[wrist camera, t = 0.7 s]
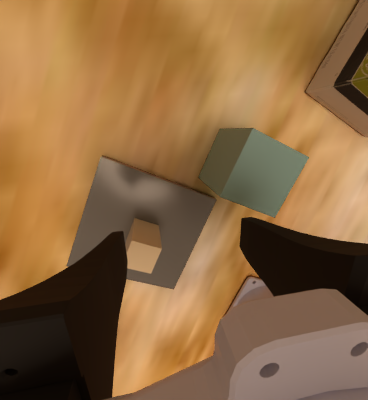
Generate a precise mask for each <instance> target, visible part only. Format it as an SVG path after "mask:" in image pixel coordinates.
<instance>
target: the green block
mask: <svg viewBox="0 0 368 400" xmlns="http://www.w3.org/2000/svg"><path fill="white" fill-rule="evenodd" d="M308 158H309V157H307V156H305V155H304V154H302V153H300V152H298V151H296V150H294V149H292V148H290V147H288V146H286V145H284V144H282V143H281V142H279V141H277V140H275V139H273V138H271V137H269V136H267V135H265V134H263V133H261V132H259V131H258V130H256V129H254V128H235V129H220V130H219V132H218V134H217V137H216V139H215V141H214V143H213V146H212V148H211V150H210V152H209V155H208V157H207V159H206V161H205V164H204V166H203V168H202V170H201V173H200V175H199V178H200V179H201V180H202V181H203V182H204V183H205V184H206V185H207V186H209V187H210V188H211V189H212V190H213V191H214V192H215V193H216V194H217V195H219V196H220V197H222V198H224V199H227V200H230V201H232V202H235V203H238V204H240V205H243V206H245V207H248V208H251V209H253V210H256V211H258V212H261V213H264V214H266V215H269V216H272V217H274V218H275V216H276V215H277V213H278V211H279V209H280V208H281V206H282V204H283V202H284V201H285V199H286V197H287V195H288V194H289V192H290V190H291V188H292V187H293V185H294V183H295V181H296V180H297V178H298V176H299V174H300V173H301V171H302V169H303V167H304V165H305V164H306V162H307V160H308Z"/></svg>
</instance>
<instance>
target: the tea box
mask: <svg viewBox="0 0 368 400" xmlns="http://www.w3.org/2000/svg"><path fill="white" fill-rule="evenodd" d="M306 93H307V94H309V95H310V96H311V97H312V98H314V99H315V100H316V101H318V102H319V103H320V104H322V105H323V106H324V107H326V108H327V109H328V110H330V111H331V112H332V113H334V114H335V115H336V116H337V117H339V118H340V119H342V120H343V121H344V122H345V123H347V124H348V125H349V126H351V127H352V128H353V129H355V130H356V131H358V132H359V133H361V134H362V135H363V136H364V137H368V0H359V2H358V4H357V6H356V7H355V9H354V11H353V12H352V14H351V16H350V17H349V19H348V20H347V22H346V23H345V25H344V27H343V28H342V30H341V32H340V34H339V35H338V37H337V39H336V41H335V43H334V44H333V46H332V48H331V49H330V51H329V53H328V54H327V56H326V57H325V59H324V60H323V62H322V64H321V65H320V67H319V69H318V70H317V72H316V74H315V76H314V78H313V80H312V81H311V83H310V84H309V86H308V88H307V89H306Z"/></svg>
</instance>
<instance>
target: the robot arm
mask: <svg viewBox="0 0 368 400" xmlns="http://www.w3.org/2000/svg"><path fill="white" fill-rule="evenodd" d="M240 248H241V250H242V252H243V254H244V256H245V258H246V259H247V261H248V262H249V264H250V265H251V266H252V268H253V269H254V270H255V272H256V273H257V274H258V275H259V277H260V278H261V279H259V278H255V277H251V276H250V277H248V278H247V279H246V281H245V283H244V284H243V286H242V288H241V289H240V291H239V293H238V295H237V296H236V298H235V300H234V302H233V303H232V305H231V307H230V308H229V310H228V312H227V314H226V315H225V316H223V317H222V318H221V320H220V322H219V325H218V328H217V330H216V333H215V350H214V355H213V356H211V357H209V358H207V359H205V360H202V361H200V362H198V363H196V364H194V365H192V366H190V367H188V368H186V369H183V370H181V371H179V372H177V373H175V374H173V375H171V376H169V377H166V378H164V379H162V380H160V381H158V382H156V383H154V384H152V385H149V386H147V387H145V388H143V389H141V390H139V391H137V392H135V393H130V394H126V395H122V396H117V397H113V398H112V389H113V375H114V361H115V349H116V338H117V328H118V319H119V313H120V308H121V303H122V298H123V293H124V288H125V283H126V278H127V266H128V259H127V253H126V246H125V239H124V232H123V231H117V232H112V233H110V234H109V235H108V236H107V237H106V238H105V239H104V240H103V241H102V242H100V243H99V244H98V245H97V246H96V247H95V248H94V249H92V250H91V251H90V252H89V253H87V254H86V255H85V256H84V257H82V258H81V259H80V260H78V261H77V262H75V263H74V264H72V265H71V266H69V267H68V268H66V269H65V270H63V271H61V272H59V273H58V274H56V275H54V276H52V277H50V278H49V279H47V280H45V281H43V282H41V283H39V284H37V285H35V286H33V287H30V288H28V289H26V290H24V291H22V292H19V293H17V294H14V295H12V296H9V297H7V298H4V299H2V300H0V400H368V244H365V243H355V242H346V241H339V240H333V239H327V238H322V237H317V236H312V235H308V234H304V233H300V232H297V231H293V230H290V229H287V228H284V227H281V226H278V225H275V224H272V223H269V222H266V221H263V220H260V219H257V218H253V217H248V218H242V220H241V235H240Z"/></svg>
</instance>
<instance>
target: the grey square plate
mask: <svg viewBox="0 0 368 400" xmlns="http://www.w3.org/2000/svg"><path fill="white" fill-rule="evenodd" d="M215 202H216V199H215V198H214V197H212V196H209V195H206V194H204V193H201V192H198V191H196V190H193V189H190V188H188V187H185V186H182V185H180V184H177V183H174V182H172V181H169V180H167V179H164V178H161V177H159V176H156V175H153V174H151V173H148V172H145V171H143V170H140V169H137V168H135V167H132V166H129V165H127V164H124V163H122V162H119V161H116V160H114V159H111V158H108V157H106V156H103V155H102V156H101V158H100V161H99V164H98V167H97V170H96V174H95V177H94V180H93V183H92V186H91V190H90V193H89V196H88V199H87V202H86V206H85V209H84V212H83V215H82V218H81V222H80V225H79V228H78V231H77V234H76V238H75V241H74V244H73V247H72V250H71V254H70V257H69V260H68V263H67V266H68V267H69V266H71V265H72V264H74V263H75V262H77V261H78V260H80V259H81V258H82V257H84V256H85V255H86V254H87V253H89V252H90V251H91V250H92V249H94V248H95V247H96V246H97V245H98V244H99V243H100V242H102V241H103V240H104V239H105V238H106V237H107V236H108V235H109V234H110V233H112V232H117V231H123V232H124V239H125V246H126V253H127V259H128V266H127V278H126V279H128V280H133V281H138V282H142V283H147V284H152V285H156V286H161V287H165V288H170V289H174V288H175V286H176V283H177V281H178V279H179V277H180V275H181V273H182V271H183V269H184V267H185V265H186V263H187V261H188V258H189V256H190V254H191V252H192V250H193V248H194V246H195V244H196V242H197V240H198V238H199V236H200V233H201V231H202V229H203V227H204V225H205V223H206V221H207V219H208V217H209V215H210V213H211V211H212V208H213V206H214V204H215Z"/></svg>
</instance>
